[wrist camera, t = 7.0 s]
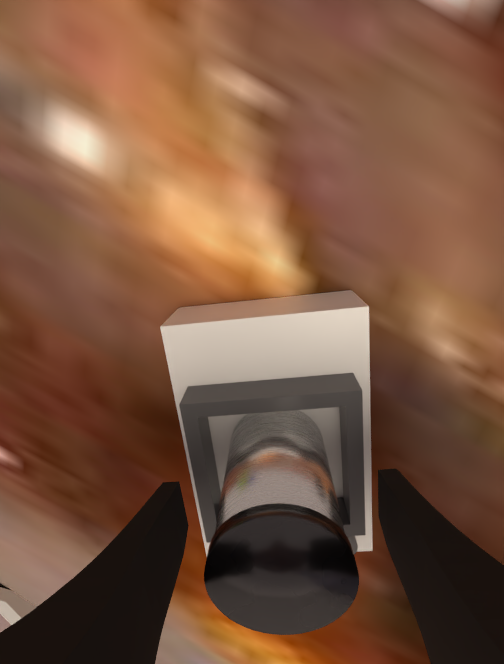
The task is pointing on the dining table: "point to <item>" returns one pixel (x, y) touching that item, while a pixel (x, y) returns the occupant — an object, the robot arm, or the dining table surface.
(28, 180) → the dining table surface
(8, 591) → the crossbow
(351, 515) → the camera body
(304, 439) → the lens
